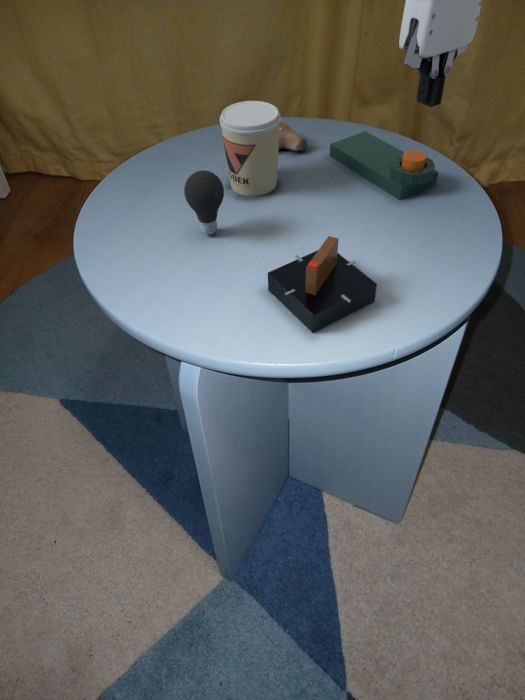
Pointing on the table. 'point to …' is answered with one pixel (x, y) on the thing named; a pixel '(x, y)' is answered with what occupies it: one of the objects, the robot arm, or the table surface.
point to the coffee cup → (251, 146)
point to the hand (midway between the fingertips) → (428, 102)
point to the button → (413, 160)
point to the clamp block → (321, 291)
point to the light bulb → (205, 198)
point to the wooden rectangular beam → (321, 265)
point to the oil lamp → (290, 139)
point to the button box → (382, 164)
